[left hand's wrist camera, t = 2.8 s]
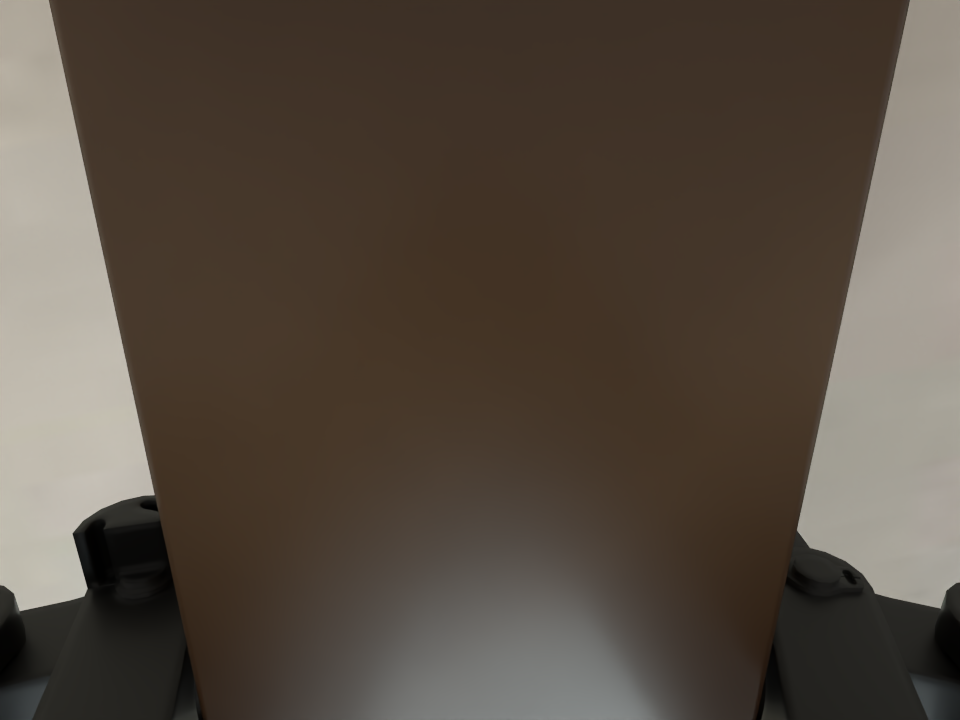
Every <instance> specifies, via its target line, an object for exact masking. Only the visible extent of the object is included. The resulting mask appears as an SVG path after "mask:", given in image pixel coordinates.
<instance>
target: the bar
mask: <svg viewBox="0 0 960 720" xmlns="http://www.w3.org/2000/svg"><path fill="white" fill-rule="evenodd" d="M909 2H910V0H49V3H50V7H51V12H52V17H53V21H54V26H55V31H56V35H57V40H58V45H59V49H60V54H61V59H62V63H63V68H64V73H65V77H66V82H67V87H68V91H69V96H70V101H71V105H72V110H73V115H74V119H75V124H76V129H77V133H78V138H79V143H80V147H81V152H82V157H83V161H84V166H85V171H86V175H87V180H88V185H89V189H90V194H91V199H92V203H93V208H94V213H95V217H96V222H97V227H98V231H99V236H100V241H101V245H102V250H103V255H104V259H105V264H106V269H107V273H108V278H109V283H110V287H111V292H112V297H113V302H114V306H115V311H116V316H117V320H118V325H119V330H120V334H121V339H122V344H123V348H124V353H125V358H126V362H127V367H128V372H129V376H130V381H131V386H132V390H133V395H134V400H135V404H136V409H137V414H138V418H139V423H140V428H141V432H142V437H143V442H144V446H145V451H146V456H147V460H148V465H149V470H150V474H151V479H152V484H153V488H154V493H155V498H156V502H157V507H158V512H159V516H160V521H161V526H162V530H163V535H164V540H165V544H166V549H167V554H168V558H169V563H170V568H171V572H172V577H173V582H174V586H175V591H176V596H177V600H178V605H179V610H180V614H181V619H182V624H183V628H184V633H185V638H186V642H187V647H188V652H189V656H190V661H191V666H192V670H193V675H194V680H195V684H196V689H197V694H198V698H199V703H200V708H201V712H202V717H203V720H756V718H757V714H758V709H759V704H760V699H761V695H762V690H763V685H764V681H765V676H766V671H767V667H768V662H769V657H770V653H771V648H772V643H773V639H774V634H775V629H776V625H777V620H778V615H779V610H780V606H781V601H782V596H783V592H784V587H785V582H786V578H787V573H788V568H789V564H790V559H791V554H792V550H793V545H794V540H795V536H796V531H797V526H798V521H799V517H800V512H801V507H802V503H803V498H804V493H805V489H806V484H807V479H808V475H809V470H810V465H811V461H812V456H813V451H814V447H815V442H816V437H817V432H818V428H819V423H820V418H821V414H822V409H823V404H824V400H825V395H826V390H827V386H828V381H829V376H830V372H831V367H832V362H833V358H834V353H835V348H836V343H837V339H838V334H839V329H840V325H841V320H842V315H843V311H844V306H845V301H846V297H847V292H848V287H849V283H850V278H851V273H852V269H853V264H854V259H855V254H856V250H857V245H858V240H859V236H860V231H861V226H862V222H863V217H864V212H865V208H866V203H867V198H868V194H869V189H870V184H871V180H872V175H873V170H874V165H875V161H876V156H877V151H878V147H879V142H880V137H881V133H882V128H883V123H884V119H885V114H886V109H887V105H888V100H889V95H890V91H891V86H892V81H893V76H894V72H895V67H896V62H897V58H898V53H899V48H900V44H901V39H902V34H903V30H904V25H905V20H906V16H907V11H908V6H909Z"/></svg>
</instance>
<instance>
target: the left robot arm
mask: <svg viewBox="0 0 960 720" xmlns="http://www.w3.org/2000/svg"><path fill="white" fill-rule="evenodd" d="M73 537H74V540H75V544H76V548H77V551H78V555H79V558H80V562H81V566H82V569H83V573H84V577H85V580H86V584H87V587H88V589H87V592H86V594H85V596H84V597H81V598H78V599H74V600H71V601H66V602H62V603H57V604H52V605H47V606H43V607H38V608H33V609H29V610H24V611H19V608H18V605H17V602H16V599H15V596H14V593H12V592H11V591H10V590H8V589H7V588H6V587H5V586H1V585H0V720H203V717H202V712H201V708H200V703H199V698H198V694H197V689H196V684H195V680H194V675H193V670H192V666H191V661H190V656H189V652H188V647H187V642H186V638H185V633H184V628H183V624H182V619H181V614H180V610H179V605H178V600H177V596H176V591H175V586H174V582H173V577H172V572H171V568H170V563H169V558H168V554H167V549H166V544H165V540H164V535H163V530H162V526H161V521H160V516H159V512H158V507H157V502H156V498H155V495H154V496H141V497H137V498H132V499H128V500H123V501H120V502H118V503H115V504H113V505H110V506H108V507H106V508H103V509H101V510H99V511H98V512H96V513H95V514H93V515H92V516H90V517H89V518H87V519H85V520H84V521H83V522H82V523H81V524H80V525H79V527H78V528H77V529H76V530H75V531H74V533H73ZM756 720H960V583H956V584H955V585H953V586H952V587H951V588H949V589H948V590H947V591H946V594H945V597H944V600H943V603H942V606H941V609H940V608H935V607H930V606H926V605H921V604H916V603H911V602H907V601H902V600H897V599H893V598H889V597H885V596H881V595H878V594H875V593H874V591H873V588H872V587H871V585H870V584H869V583H868V581H867V580H866V578H865V577H864V576H863V574H862V573H860V572H859V571H858V570H856V569H855V568H854V567H852V566H851V565H850V564H848V563H847V562H846V561H843V560H841V559H839V558H837V557H835V556H833V555H831V554H828V553H826V552H823V551H819V550H815V549H811V548H810V547H809V546H808V545H807V543H806V542H805V541H804V539H803V538H802V537H801V535H800V534H799V533H798V531H796V536H795V540H794V545H793V550H792V554H791V559H790V564H789V568H788V573H787V578H786V582H785V587H784V592H783V596H782V601H781V606H780V610H779V615H778V620H777V625H776V629H775V634H774V639H773V643H772V648H771V653H770V657H769V662H768V667H767V671H766V676H765V681H764V685H763V690H762V695H761V699H760V704H759V709H758V714H757V718H756Z"/></svg>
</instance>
